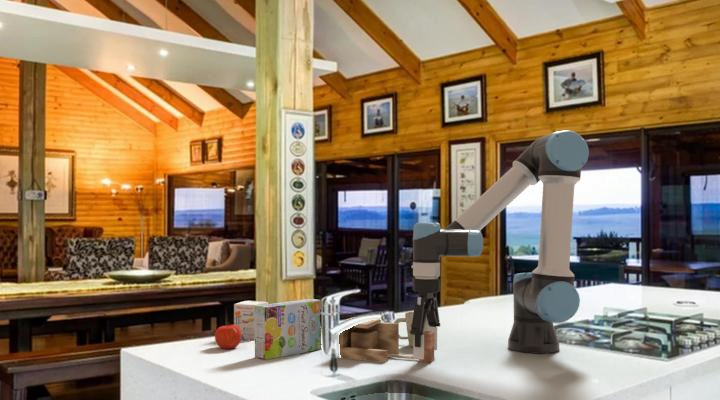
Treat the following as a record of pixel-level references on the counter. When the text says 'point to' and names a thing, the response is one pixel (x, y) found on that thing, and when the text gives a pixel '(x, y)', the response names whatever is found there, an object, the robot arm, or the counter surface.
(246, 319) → the ink box
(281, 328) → the snack box
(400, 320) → the mug
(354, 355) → the cubby
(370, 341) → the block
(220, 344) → the apple
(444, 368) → the counter surface
